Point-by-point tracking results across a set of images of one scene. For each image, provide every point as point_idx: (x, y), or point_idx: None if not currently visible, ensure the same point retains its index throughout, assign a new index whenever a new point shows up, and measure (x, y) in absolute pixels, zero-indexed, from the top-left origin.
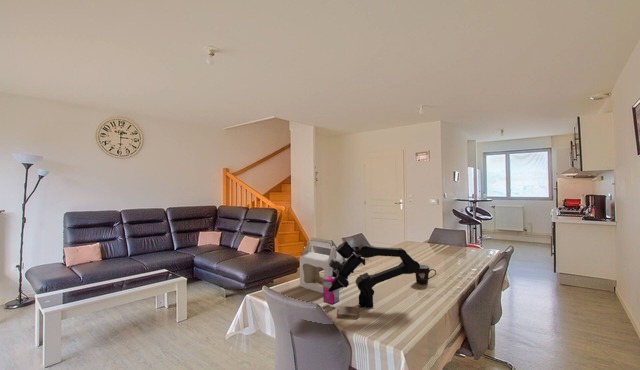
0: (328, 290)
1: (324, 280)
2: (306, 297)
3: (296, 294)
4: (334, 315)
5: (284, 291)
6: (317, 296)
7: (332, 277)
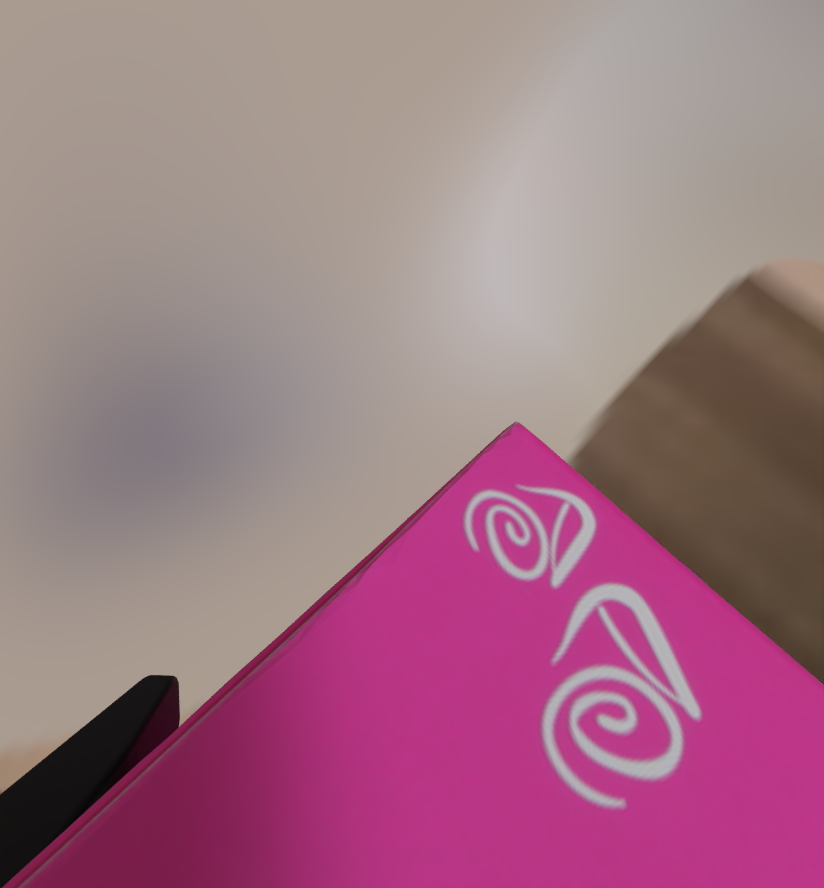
0: (152, 676)
1: (428, 500)
2: (663, 445)
3: (723, 364)
4: (25, 753)
5: (767, 285)
6: (716, 573)
7: None
